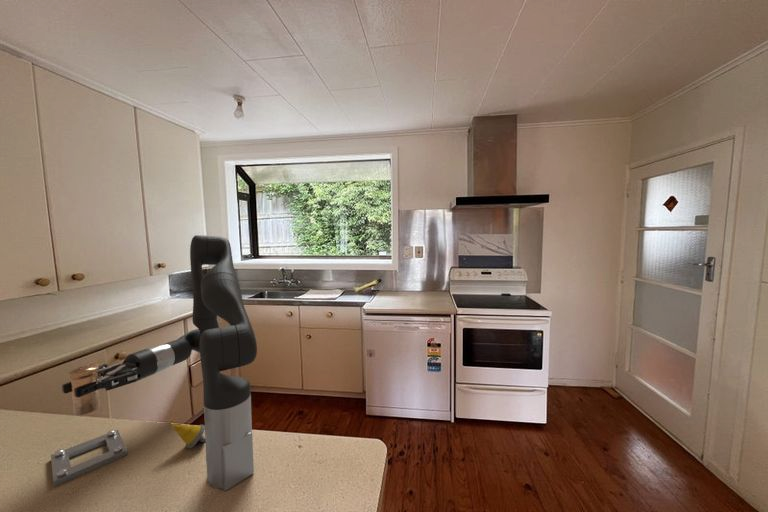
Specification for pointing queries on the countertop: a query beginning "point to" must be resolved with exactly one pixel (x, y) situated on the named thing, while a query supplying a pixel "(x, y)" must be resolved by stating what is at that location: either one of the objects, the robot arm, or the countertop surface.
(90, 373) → the pipe stub
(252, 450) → the robot arm
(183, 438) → the drill bit
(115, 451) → the flange
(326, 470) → the countertop surface
